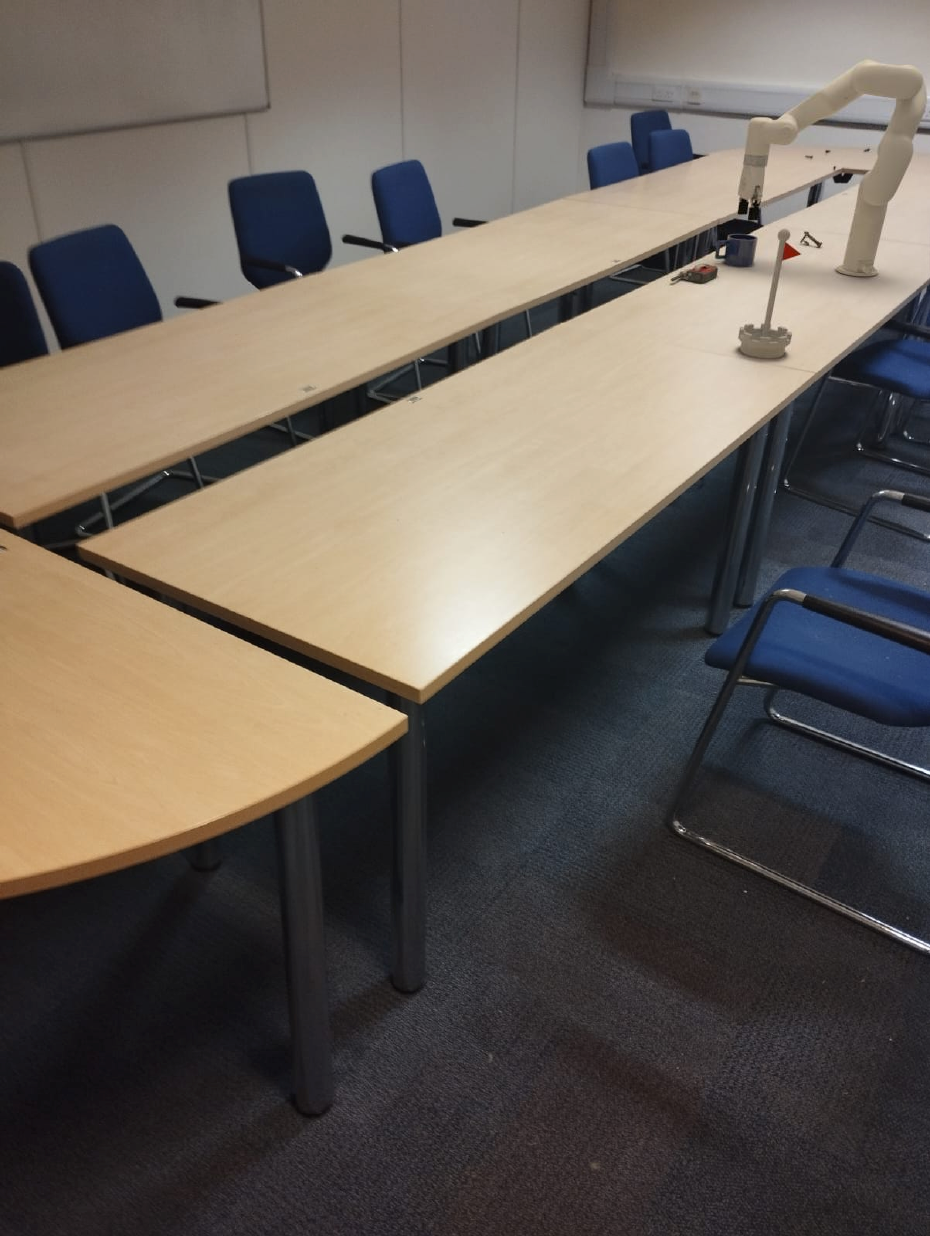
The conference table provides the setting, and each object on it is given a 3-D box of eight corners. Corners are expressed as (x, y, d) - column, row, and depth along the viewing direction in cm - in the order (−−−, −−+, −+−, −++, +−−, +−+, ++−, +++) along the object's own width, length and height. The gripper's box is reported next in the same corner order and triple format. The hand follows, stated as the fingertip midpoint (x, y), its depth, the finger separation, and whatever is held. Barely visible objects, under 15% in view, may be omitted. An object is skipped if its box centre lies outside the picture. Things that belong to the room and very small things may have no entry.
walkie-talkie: (694, 271, 320) (667, 284, 306) (696, 257, 317) (669, 269, 303) (719, 275, 315) (693, 288, 302) (721, 261, 313) (695, 274, 299)
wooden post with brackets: (799, 240, 358) (806, 229, 354) (816, 253, 355) (823, 242, 352) (797, 240, 357) (804, 229, 353) (813, 253, 354) (820, 242, 351)
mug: (747, 259, 335) (751, 233, 330) (757, 266, 327) (762, 240, 322) (709, 260, 334) (713, 233, 329) (718, 267, 325) (722, 240, 321)
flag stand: (727, 352, 250) (748, 229, 234) (748, 340, 259) (770, 220, 243) (775, 363, 244) (800, 237, 227) (796, 350, 252) (821, 228, 236)
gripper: (735, 156, 320) (727, 212, 329) (753, 165, 305) (745, 222, 315) (757, 156, 320) (749, 211, 330) (777, 164, 306) (767, 222, 315)
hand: (747, 217), depth 322 cm, fingers open, 9 cm apart
